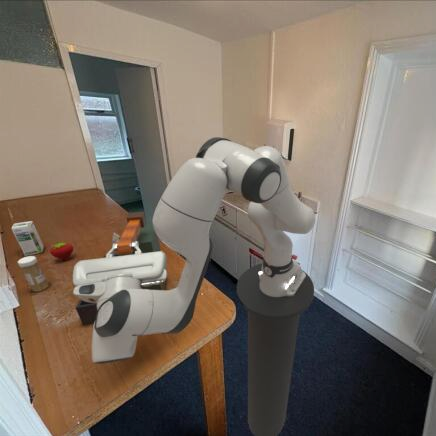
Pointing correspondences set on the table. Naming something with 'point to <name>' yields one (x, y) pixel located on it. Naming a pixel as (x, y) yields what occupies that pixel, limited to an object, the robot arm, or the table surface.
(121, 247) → the orange bar brown end
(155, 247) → the pedestal
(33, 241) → the syrup box
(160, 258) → the robot arm
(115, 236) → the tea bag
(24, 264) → the sprinkles bottle
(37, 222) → the table surface
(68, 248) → the strawberry
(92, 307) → the drawer
